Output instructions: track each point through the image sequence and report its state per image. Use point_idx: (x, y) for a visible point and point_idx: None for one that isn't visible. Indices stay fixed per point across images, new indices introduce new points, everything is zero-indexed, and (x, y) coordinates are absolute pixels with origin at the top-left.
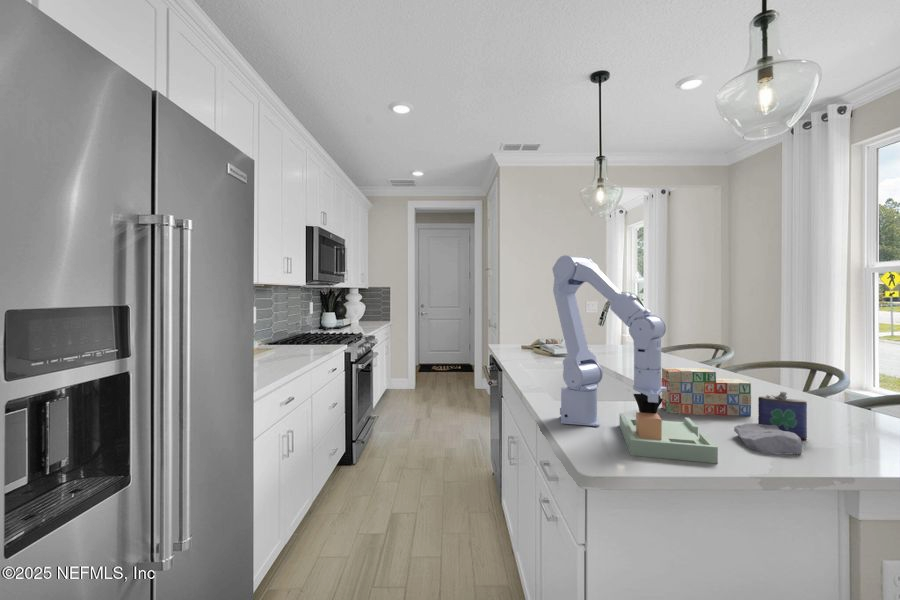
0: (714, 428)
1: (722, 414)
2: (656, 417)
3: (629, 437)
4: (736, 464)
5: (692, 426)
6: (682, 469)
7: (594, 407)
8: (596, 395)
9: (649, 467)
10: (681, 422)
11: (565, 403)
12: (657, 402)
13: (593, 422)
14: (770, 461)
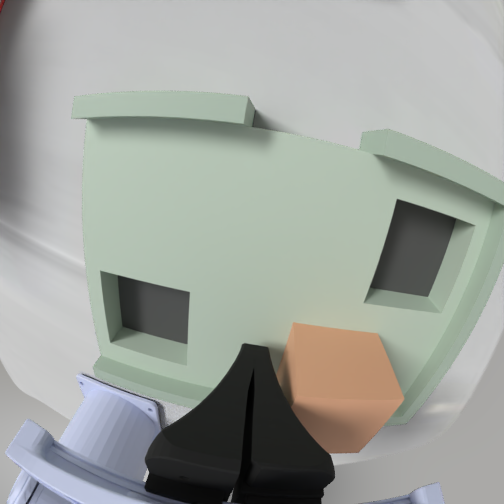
0: (87, 10)
1: (2, 3)
2: (372, 412)
3: None
4: (490, 125)
5: (230, 122)
6: (492, 304)
7: (120, 441)
8: (94, 461)
9: (461, 367)
10: (91, 134)
11: (141, 479)
12: (436, 484)
13: (140, 410)
14: (445, 2)
